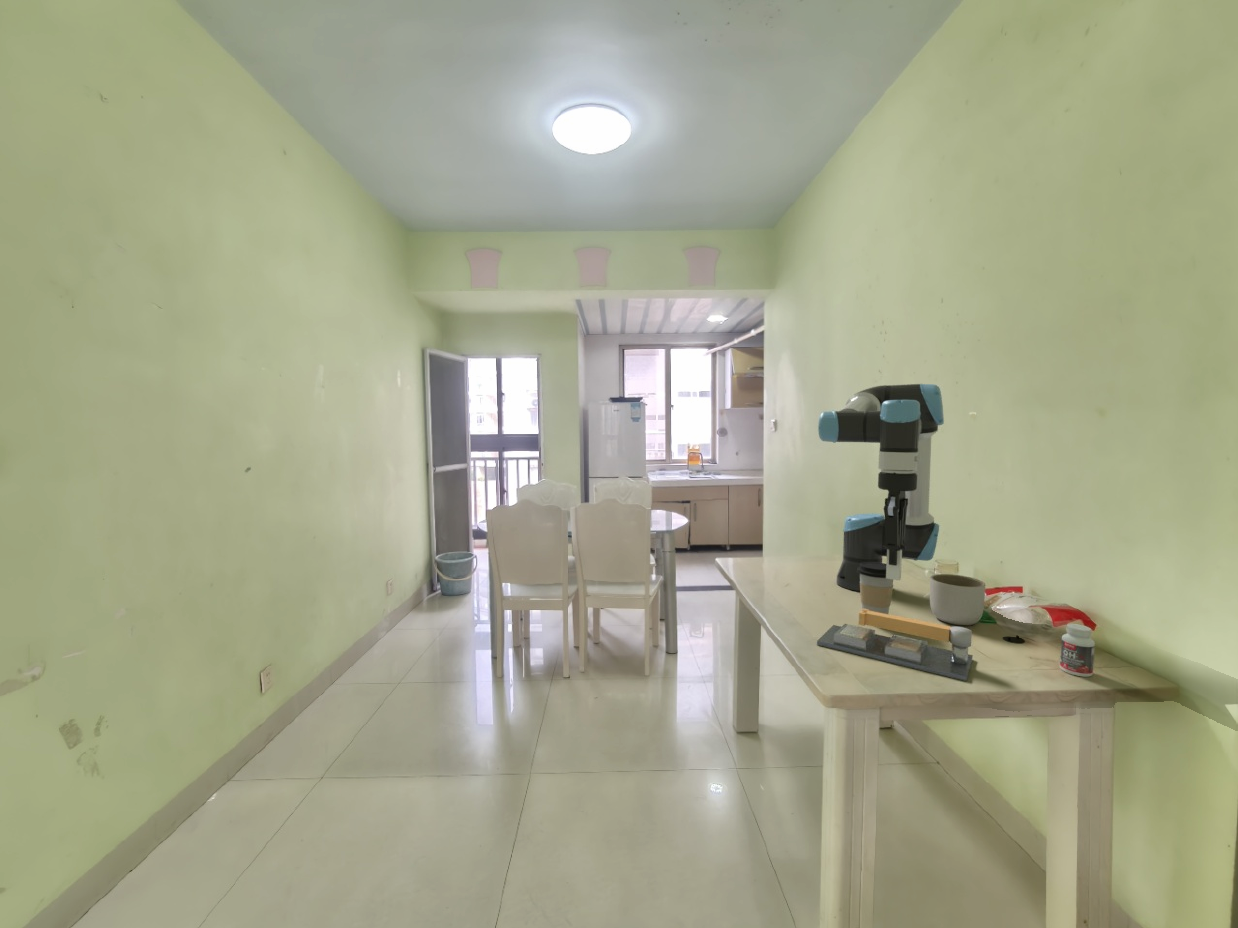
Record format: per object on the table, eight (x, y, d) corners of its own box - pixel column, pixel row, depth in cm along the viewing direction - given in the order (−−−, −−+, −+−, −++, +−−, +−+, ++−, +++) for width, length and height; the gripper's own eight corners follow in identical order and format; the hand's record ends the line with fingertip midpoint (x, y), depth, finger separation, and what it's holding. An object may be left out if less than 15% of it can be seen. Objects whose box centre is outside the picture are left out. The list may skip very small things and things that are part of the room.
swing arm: (972, 642, 118) (972, 629, 118) (970, 648, 115) (970, 634, 115) (863, 620, 132) (863, 607, 132) (858, 624, 129) (859, 612, 128)
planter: (954, 630, 139) (956, 588, 138) (918, 613, 151) (919, 575, 150) (995, 626, 141) (997, 585, 140) (956, 610, 153) (958, 572, 153)
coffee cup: (898, 628, 140) (901, 571, 139) (859, 625, 142) (861, 569, 141) (888, 616, 149) (890, 562, 148) (851, 613, 151) (853, 560, 150)
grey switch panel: (833, 628, 140) (833, 610, 139) (972, 659, 121) (973, 639, 121) (817, 644, 129) (817, 625, 129) (966, 681, 111) (967, 658, 111)
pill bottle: (1059, 672, 115) (1062, 627, 115) (1060, 663, 119) (1062, 620, 119) (1093, 680, 112) (1096, 633, 111) (1092, 671, 116) (1095, 626, 115)
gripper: (911, 474, 111) (906, 588, 112) (922, 470, 121) (917, 575, 123) (871, 472, 115) (867, 582, 117) (885, 469, 126) (881, 569, 127)
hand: (893, 578), depth 120 cm, fingers closed
